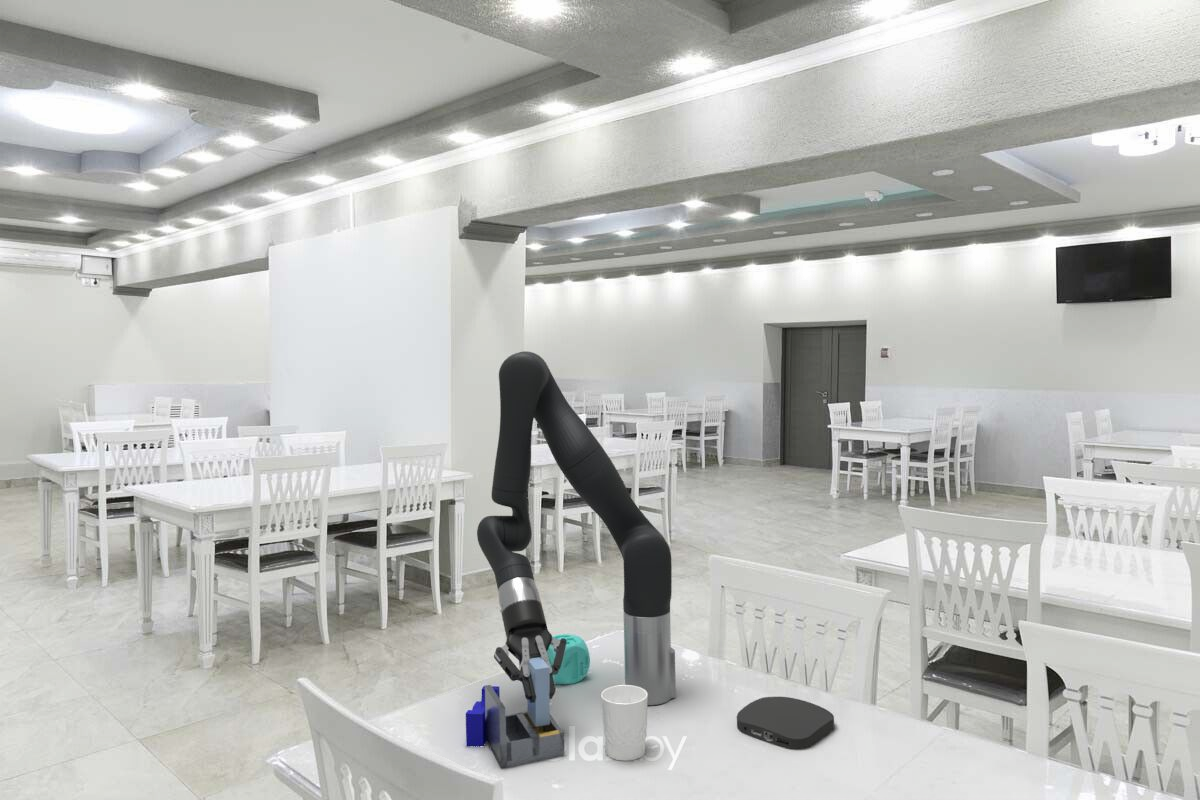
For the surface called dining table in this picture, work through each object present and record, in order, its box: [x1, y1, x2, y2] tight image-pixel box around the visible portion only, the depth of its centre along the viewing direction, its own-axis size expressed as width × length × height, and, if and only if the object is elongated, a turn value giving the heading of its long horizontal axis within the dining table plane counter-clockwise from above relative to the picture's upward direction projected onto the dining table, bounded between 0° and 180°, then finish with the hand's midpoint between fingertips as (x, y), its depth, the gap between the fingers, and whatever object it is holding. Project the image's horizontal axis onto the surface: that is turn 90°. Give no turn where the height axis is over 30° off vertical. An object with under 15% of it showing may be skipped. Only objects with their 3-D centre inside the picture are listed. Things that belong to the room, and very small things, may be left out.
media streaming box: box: [736, 696, 835, 751], centre depth 145 cm, size 15×15×3 cm
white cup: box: [600, 684, 648, 762], centre depth 137 cm, size 8×8×10 cm
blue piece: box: [465, 685, 501, 748], centre depth 146 cm, size 12×4×6 cm, turn 173°
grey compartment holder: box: [484, 684, 566, 770], centre depth 139 cm, size 11×10×10 cm
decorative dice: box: [547, 633, 591, 685], centre depth 170 cm, size 8×8×8 cm
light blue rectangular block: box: [526, 657, 551, 727], centre depth 140 cm, size 2×5×10 cm, turn 21°
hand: (542, 698), depth 138 cm, fingers closed on light blue rectangular block, 2 cm apart
